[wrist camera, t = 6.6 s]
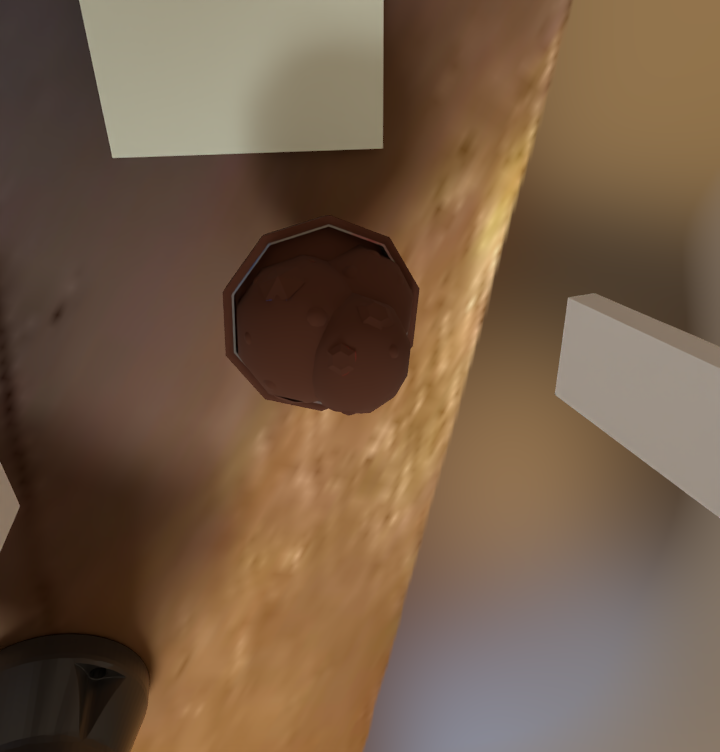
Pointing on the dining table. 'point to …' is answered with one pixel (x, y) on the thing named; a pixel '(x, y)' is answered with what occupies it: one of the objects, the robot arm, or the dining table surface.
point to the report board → (237, 75)
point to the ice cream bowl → (322, 317)
